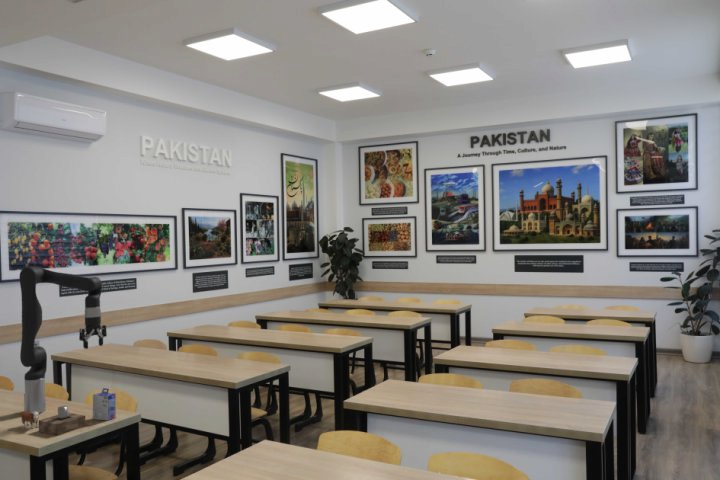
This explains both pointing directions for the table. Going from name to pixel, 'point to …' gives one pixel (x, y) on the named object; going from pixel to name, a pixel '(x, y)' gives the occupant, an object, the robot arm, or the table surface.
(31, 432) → the table surface
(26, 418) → the bull figurine
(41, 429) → the docking block
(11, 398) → the table surface
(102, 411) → the ink cartridge box
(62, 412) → the peg
